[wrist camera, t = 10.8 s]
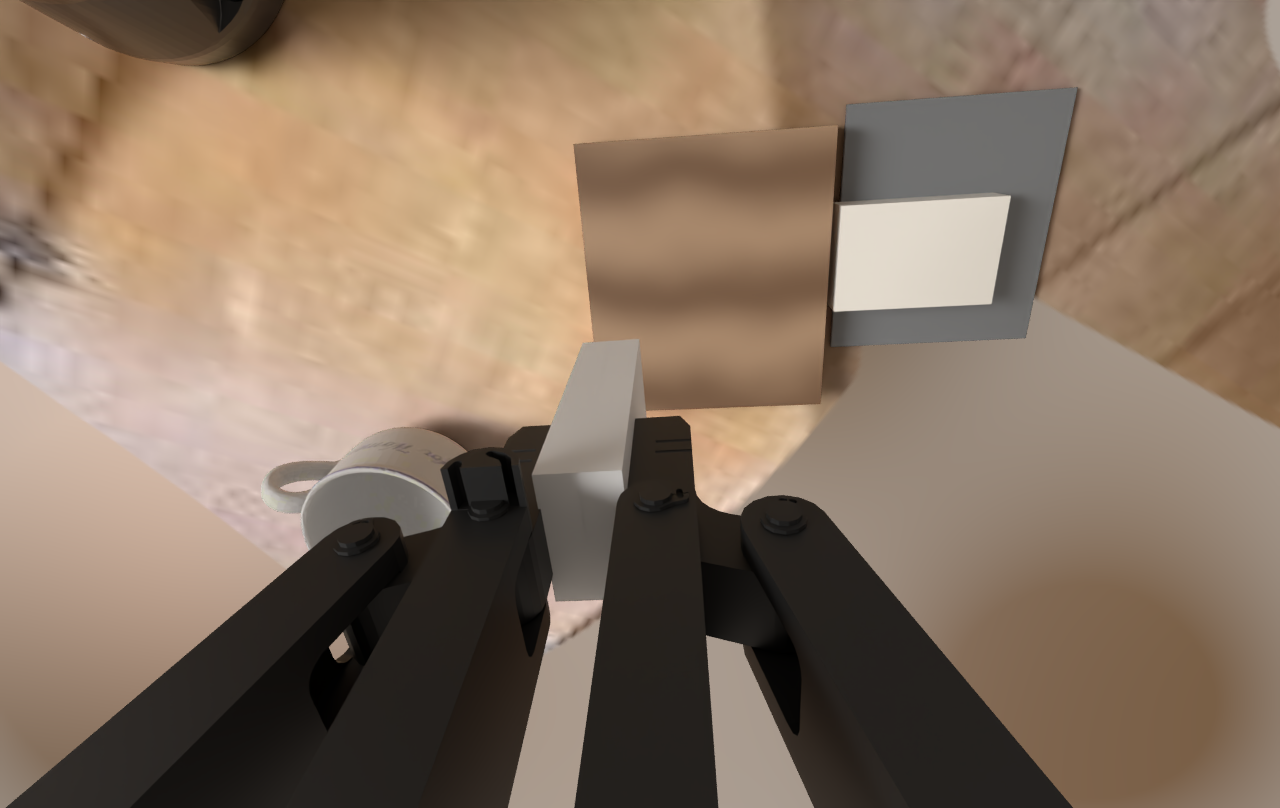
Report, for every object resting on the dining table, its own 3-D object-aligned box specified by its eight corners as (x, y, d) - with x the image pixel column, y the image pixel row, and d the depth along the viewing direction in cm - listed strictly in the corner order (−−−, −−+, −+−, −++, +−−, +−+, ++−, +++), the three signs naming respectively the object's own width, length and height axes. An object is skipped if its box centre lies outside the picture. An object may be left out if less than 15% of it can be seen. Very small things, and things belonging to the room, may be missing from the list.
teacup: (526, 456, 43) (496, 521, 36) (465, 557, 47) (428, 633, 40) (346, 361, 41) (275, 409, 34) (299, 475, 45) (226, 541, 38)
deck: (580, 143, 34) (573, 144, 32) (826, 125, 33) (838, 125, 31) (604, 396, 41) (601, 412, 39) (811, 388, 40) (820, 404, 38)
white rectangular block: (832, 202, 35) (841, 205, 33) (992, 192, 34) (1010, 195, 32) (826, 303, 37) (834, 311, 35) (975, 295, 36) (991, 304, 35)
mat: (846, 104, 33) (847, 104, 33) (1074, 87, 32) (1077, 87, 32) (830, 345, 39) (831, 346, 38) (1023, 336, 38) (1025, 338, 37)
